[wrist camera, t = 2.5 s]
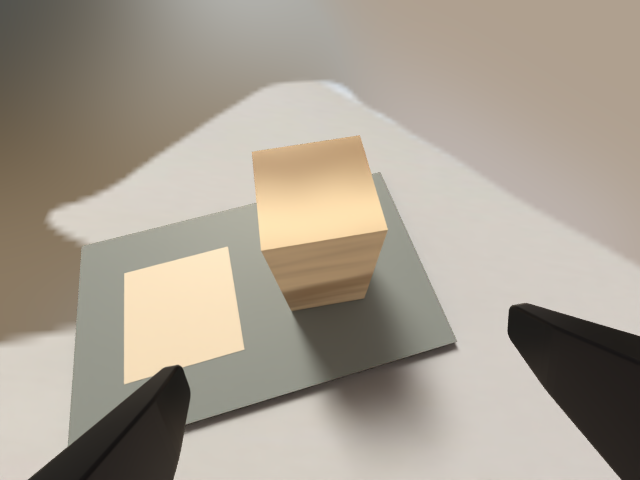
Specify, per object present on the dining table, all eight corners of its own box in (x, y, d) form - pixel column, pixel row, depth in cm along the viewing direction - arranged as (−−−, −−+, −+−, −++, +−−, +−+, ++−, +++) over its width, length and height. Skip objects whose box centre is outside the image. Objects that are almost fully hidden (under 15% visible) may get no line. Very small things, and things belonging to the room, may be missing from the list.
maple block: (364, 298, 21) (387, 229, 12) (291, 311, 21) (261, 250, 12) (349, 233, 23) (359, 135, 14) (282, 244, 23) (252, 151, 14)
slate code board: (379, 176, 26) (380, 171, 26) (453, 342, 20) (457, 341, 20) (87, 249, 24) (81, 245, 24) (74, 458, 18) (66, 460, 18)
